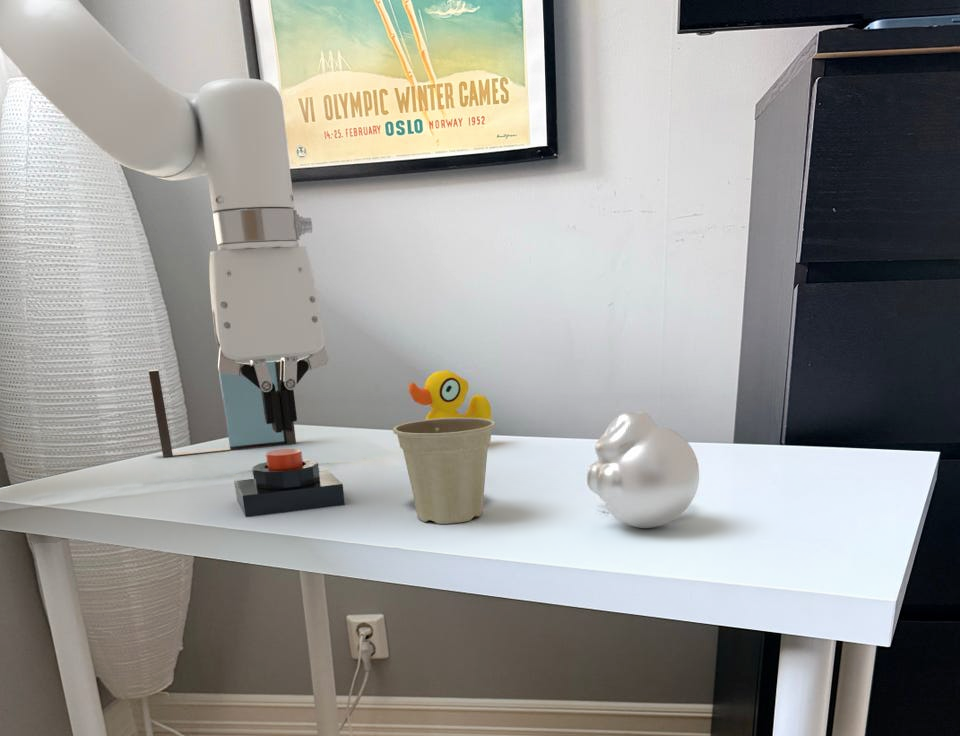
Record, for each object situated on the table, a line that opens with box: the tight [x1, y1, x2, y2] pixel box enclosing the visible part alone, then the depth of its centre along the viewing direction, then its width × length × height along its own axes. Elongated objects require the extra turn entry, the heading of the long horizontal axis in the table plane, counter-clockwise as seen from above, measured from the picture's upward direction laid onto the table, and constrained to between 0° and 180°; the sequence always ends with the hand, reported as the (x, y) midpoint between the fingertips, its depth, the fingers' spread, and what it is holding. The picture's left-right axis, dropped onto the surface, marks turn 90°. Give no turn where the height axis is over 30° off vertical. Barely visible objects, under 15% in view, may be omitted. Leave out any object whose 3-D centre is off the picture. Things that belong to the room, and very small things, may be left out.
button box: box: [233, 458, 346, 518], centre depth 96 cm, size 10×8×4 cm
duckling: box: [408, 369, 492, 420], centre depth 121 cm, size 11×5×10 cm, turn 119°
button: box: [265, 448, 303, 469], centre depth 95 cm, size 4×4×2 cm
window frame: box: [148, 359, 297, 459], centre depth 120 cm, size 17×2×12 cm, turn 110°
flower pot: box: [392, 418, 496, 525], centre depth 87 cm, size 9×9×9 cm
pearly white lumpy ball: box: [586, 411, 700, 529], centre depth 80 cm, size 9×10×10 cm
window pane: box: [219, 360, 284, 447], centre depth 120 cm, size 7×1×13 cm, turn 110°
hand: (282, 429), depth 94 cm, fingers closed
